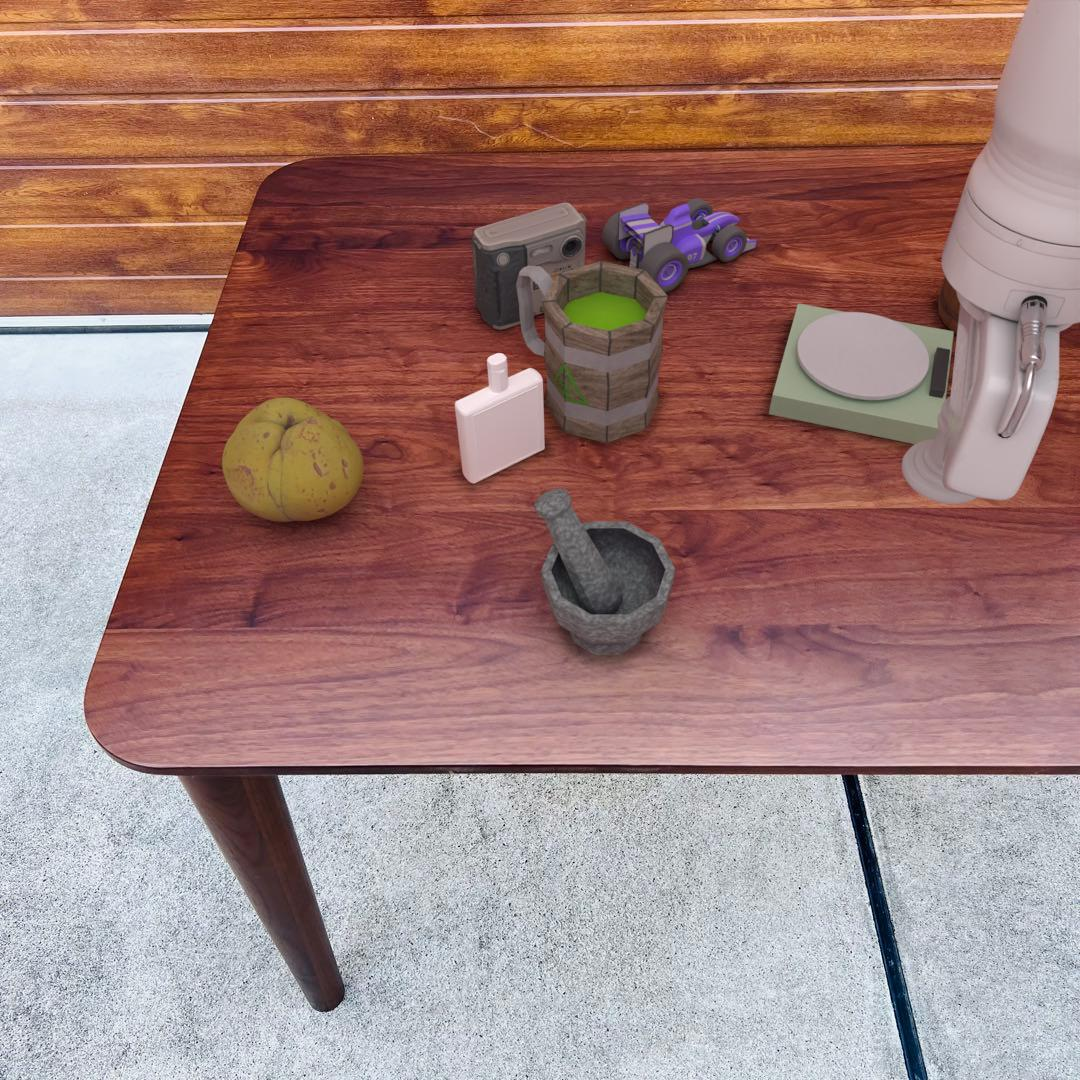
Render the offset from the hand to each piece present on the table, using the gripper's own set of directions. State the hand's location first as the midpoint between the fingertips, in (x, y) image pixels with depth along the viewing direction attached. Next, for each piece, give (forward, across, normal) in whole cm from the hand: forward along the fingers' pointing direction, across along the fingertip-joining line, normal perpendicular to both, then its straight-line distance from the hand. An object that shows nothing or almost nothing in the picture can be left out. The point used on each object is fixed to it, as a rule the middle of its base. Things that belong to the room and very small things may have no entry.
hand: (958, 438), depth 62 cm
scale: (+21, +28, +5) cm, 36 cm away
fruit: (+21, -1, +49) cm, 53 cm away
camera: (+21, +31, +39) cm, 54 cm away
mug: (+21, +20, +30) cm, 42 cm away
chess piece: (+4, 0, 0) cm, 4 cm away
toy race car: (+21, +44, +26) cm, 55 cm away
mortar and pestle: (+21, -5, +21) cm, 30 cm away
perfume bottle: (+21, +9, +34) cm, 41 cm away
